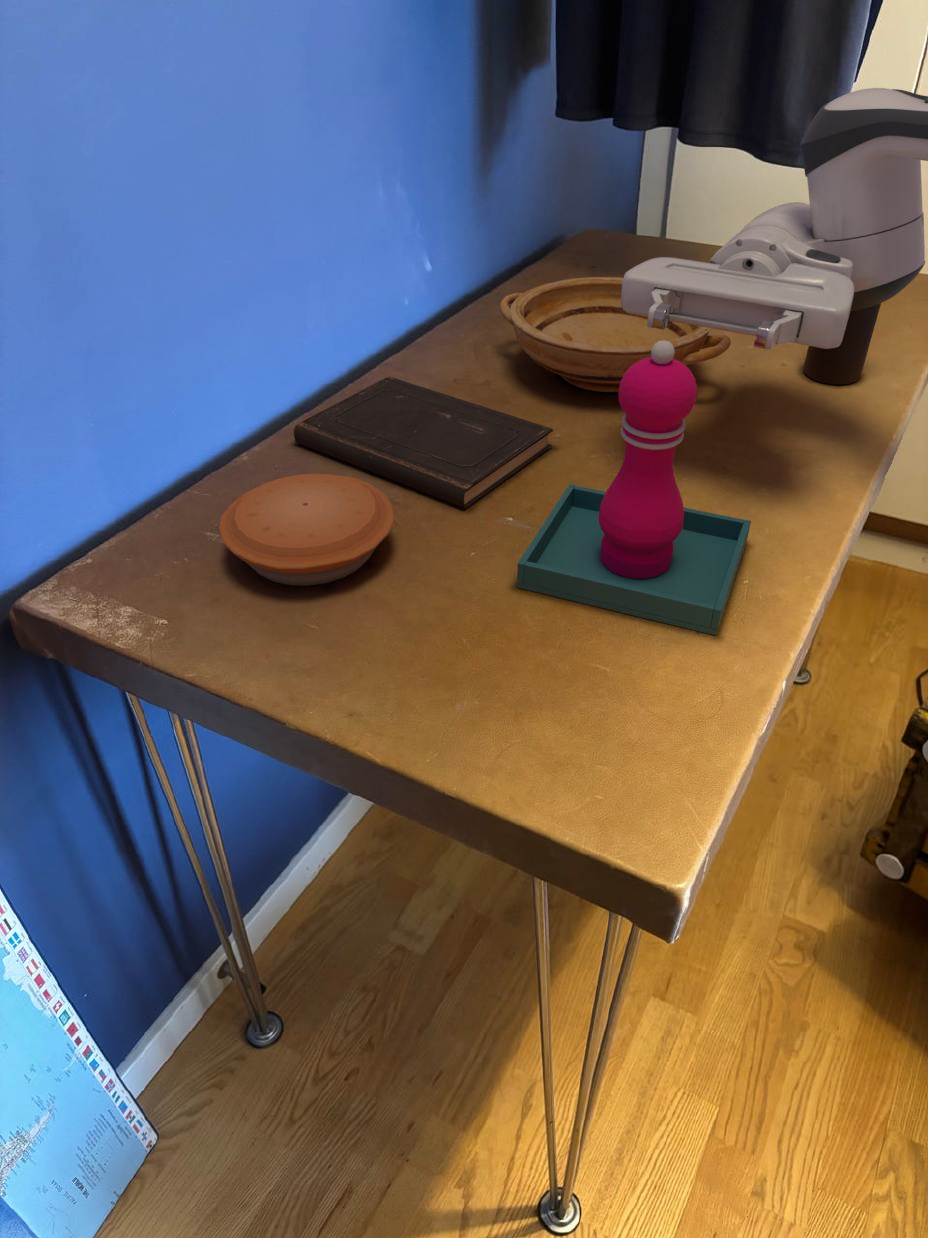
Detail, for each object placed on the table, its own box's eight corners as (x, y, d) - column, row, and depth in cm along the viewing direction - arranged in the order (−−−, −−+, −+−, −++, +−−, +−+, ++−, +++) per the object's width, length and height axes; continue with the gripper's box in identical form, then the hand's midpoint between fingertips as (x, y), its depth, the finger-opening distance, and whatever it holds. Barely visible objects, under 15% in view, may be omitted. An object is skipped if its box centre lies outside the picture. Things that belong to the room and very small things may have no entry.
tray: (745, 544, 84) (751, 520, 82) (716, 635, 74) (721, 610, 72) (567, 507, 89) (569, 484, 87) (516, 587, 79) (517, 563, 77)
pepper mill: (591, 578, 79) (613, 357, 66) (597, 533, 84) (618, 320, 72) (676, 587, 78) (714, 363, 65) (676, 540, 83) (711, 326, 71)
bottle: (801, 381, 111) (842, 207, 99) (804, 360, 116) (843, 191, 103) (860, 389, 109) (909, 212, 97) (860, 366, 114) (907, 196, 102)
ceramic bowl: (753, 364, 115) (765, 301, 110) (679, 441, 99) (690, 372, 94) (547, 319, 128) (550, 260, 123) (453, 381, 112) (451, 317, 107)
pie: (191, 552, 83) (180, 506, 80) (323, 489, 92) (318, 445, 89) (296, 626, 75) (288, 576, 72) (430, 548, 84) (428, 501, 81)
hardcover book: (389, 393, 109) (388, 375, 108) (551, 447, 99) (552, 428, 97) (294, 445, 99) (292, 426, 98) (463, 511, 89) (462, 491, 87)
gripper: (653, 232, 89) (598, 272, 79) (872, 263, 81) (839, 312, 72) (645, 296, 93) (592, 343, 83) (854, 332, 85) (820, 388, 75)
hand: (708, 329), depth 77 cm, fingers open, 8 cm apart
